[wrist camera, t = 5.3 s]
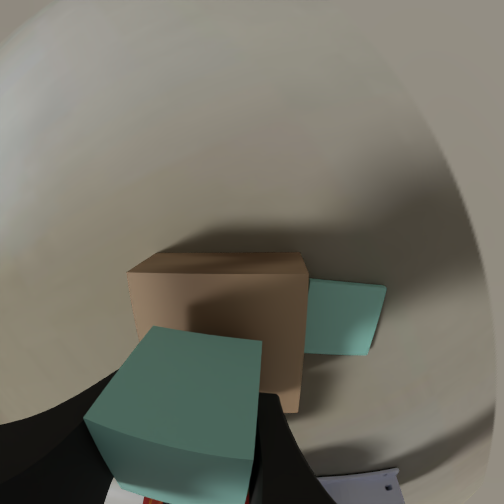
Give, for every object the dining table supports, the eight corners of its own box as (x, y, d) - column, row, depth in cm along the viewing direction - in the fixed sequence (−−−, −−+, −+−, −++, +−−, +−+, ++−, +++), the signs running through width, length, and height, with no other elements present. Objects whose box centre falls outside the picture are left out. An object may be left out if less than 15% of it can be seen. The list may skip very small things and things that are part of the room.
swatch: (383, 285, 13) (386, 288, 13) (364, 351, 14) (367, 355, 14) (309, 278, 13) (310, 281, 13) (296, 348, 14) (296, 352, 14)
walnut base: (299, 250, 13) (309, 274, 10) (293, 370, 15) (297, 412, 11) (158, 251, 14) (126, 272, 10) (175, 365, 15) (156, 403, 12)
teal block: (252, 415, 10) (242, 515, 5) (162, 401, 10) (121, 488, 6) (262, 340, 9) (253, 459, 4) (153, 325, 10) (83, 417, 5)
